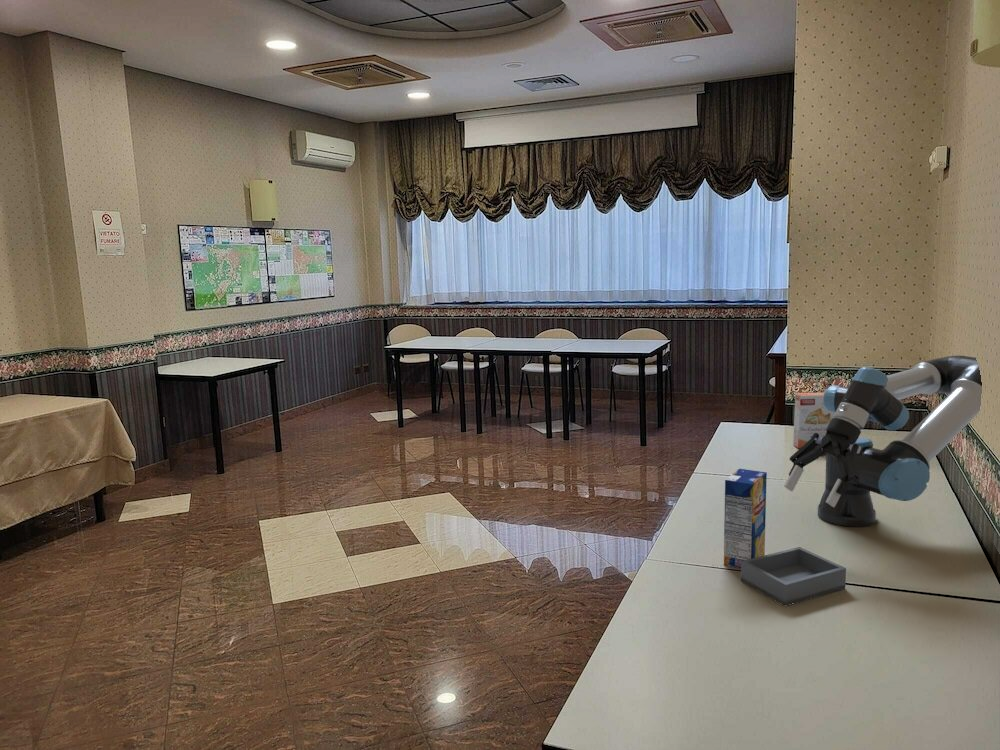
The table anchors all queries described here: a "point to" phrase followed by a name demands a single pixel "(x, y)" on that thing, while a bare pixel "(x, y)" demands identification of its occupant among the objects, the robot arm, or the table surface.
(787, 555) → the tray
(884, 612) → the table surface
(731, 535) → the beverage box
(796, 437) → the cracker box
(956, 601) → the table surface
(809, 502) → the table surface
